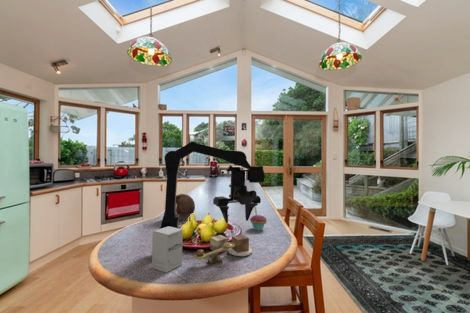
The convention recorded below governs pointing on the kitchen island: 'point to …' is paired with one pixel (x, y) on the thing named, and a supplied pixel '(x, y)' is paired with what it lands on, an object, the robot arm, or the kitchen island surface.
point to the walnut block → (240, 243)
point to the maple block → (217, 242)
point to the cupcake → (258, 221)
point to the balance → (213, 253)
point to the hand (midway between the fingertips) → (236, 221)
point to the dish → (240, 252)
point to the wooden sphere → (184, 206)
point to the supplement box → (167, 248)
